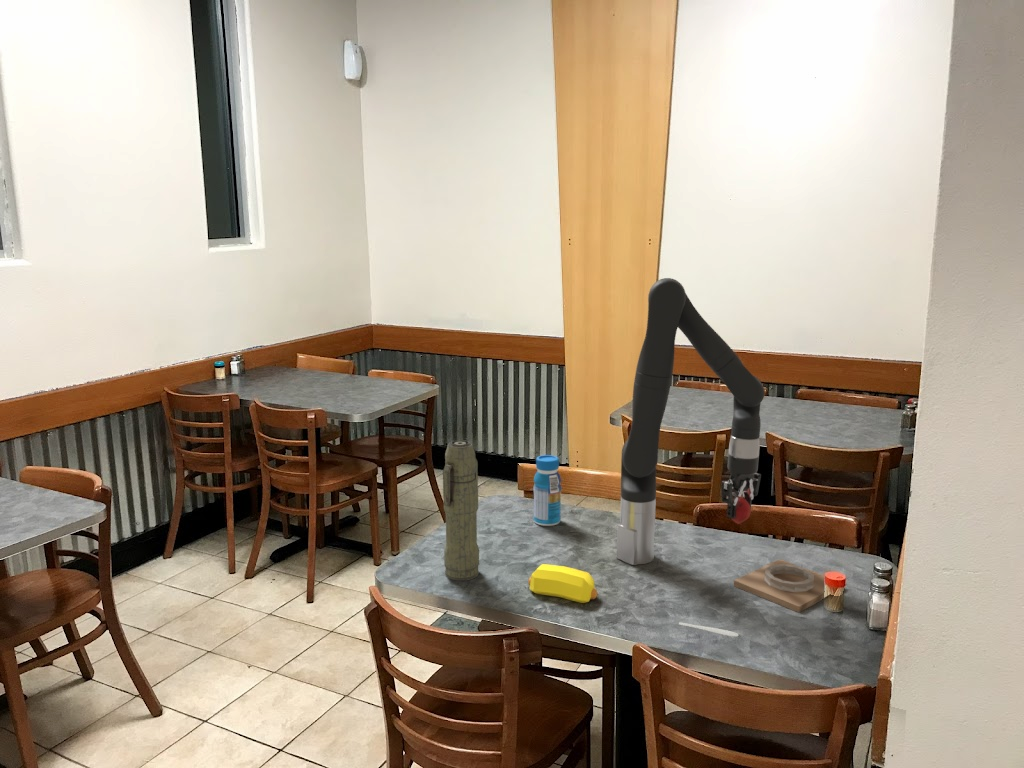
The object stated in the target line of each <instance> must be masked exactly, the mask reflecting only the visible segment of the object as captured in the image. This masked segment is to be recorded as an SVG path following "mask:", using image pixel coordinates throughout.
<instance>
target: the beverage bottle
mask: <svg viewBox="0 0 1024 768" xmlns="http://www.w3.org/2000/svg"><path fill="white" fill-rule="evenodd" d="M535 465H536V466H535V467H536V470H537V471H536V472H535V474H534V478H533V482H534V485H533V488H532V491H533V522H534V523H535V524H536V525H539V526H543V527H552V526H555V525H559V524H560V522H561V510H562V509H561V504H562V503H561V501H562V498H561V497H562V485H561V483H562V477H561V474H560V473H559V471H558V470H559V468H560V458H559V457H558V456H556V455H552V454H551V455H550V454H546V455H545V454H543V455H539V456H536V459H535Z"/></svg>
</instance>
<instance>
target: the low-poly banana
mask: <svg viewBox="0 0 1024 768" xmlns="http://www.w3.org/2000/svg"><path fill="white" fill-rule="evenodd" d="M527 583H528V585H529V590H530V591H531V592H533V593H535V594H537V595H544V596H550V597H558V598H562V599H565V600H569V601H573V602H577V603H581V604H585V603H589V602H590V600H596V598H597V596H598V590H597V589H596V587H595V579H594V578H593V576H592V575H591V574H590V573H589V572H587V571H585V570H580V569H577V568H572V567H569V566H563V565H555V564H554V565H553V564H546V563H542V564H541V565H539V566H538V567H537V568H536V569H535V571H533V572H532V573H531V575H530V577H529V579H528V581H527Z"/></svg>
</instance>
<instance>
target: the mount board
mask: <svg viewBox="0 0 1024 768" xmlns="http://www.w3.org/2000/svg"><path fill="white" fill-rule="evenodd" d="M824 575H825V574H821V573H819V572H817V571H813V570H811V569H807V568H805V567H802V566H799V565H797V564H794V563H792V562H788V561H787V560H786V561H785V560H783V559H780V558H779V559H777V560H775V561H773V562H771V563H769V564H766V565H764V566H761V568H758V569H755V570H754V571H751V572H749V573H747V574H744V575H743V576H741V577H738V578H736V579H734V580H733V587H736V588H738V589H739V590H740V589H741V590H743V591H745V592H747V593H750V594H752V595H755V596H756V597H760V598H762V599H764V600H768V601H769V602H771V603H772V602H773V603H774V604H777V605H779V606H781V607H784V608H786V609H788V610H791V611H794V612H797V613H798V614H799V613H801V612H803V611H804V610H806V609H808V608H810V607H812V606H814V605H815V604H817V603H818V602H819V603H820V601H822V599H823V598H824V592H825V591H824ZM824 599H825V598H824ZM824 599H823V600H824Z"/></svg>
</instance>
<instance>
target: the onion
mask: <svg viewBox="0 0 1024 768" xmlns="http://www.w3.org/2000/svg"><path fill="white" fill-rule="evenodd" d="M744 498H745V497H743V493H742V494H741V497H739V498H738V501H737V503H736V505H737V506H736V517H735V518H734V519H731V520H732V522H734V523H736V524H738V525H741V524H742V523H744V522H745V521H746V520H748V519H749V517H750V516H751V512H752V511H751V509H752V507H751V508H750V505H749V503H748V502H747V501H746V500H745V499H744Z"/></svg>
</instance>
